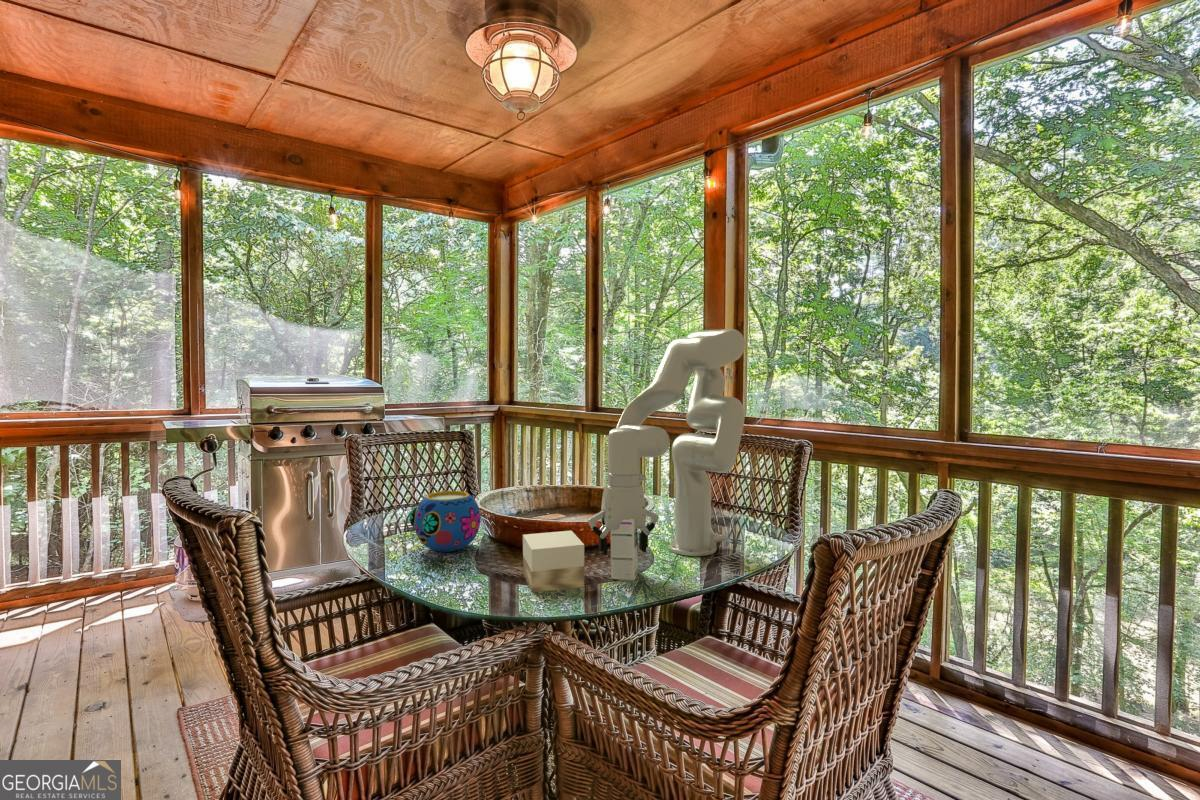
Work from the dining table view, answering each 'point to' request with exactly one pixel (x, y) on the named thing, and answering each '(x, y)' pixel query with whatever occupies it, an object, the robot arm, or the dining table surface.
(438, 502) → the ceramic pot
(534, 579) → the tower base slab
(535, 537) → the tower top slab
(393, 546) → the dining table surface
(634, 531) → the syrup box
